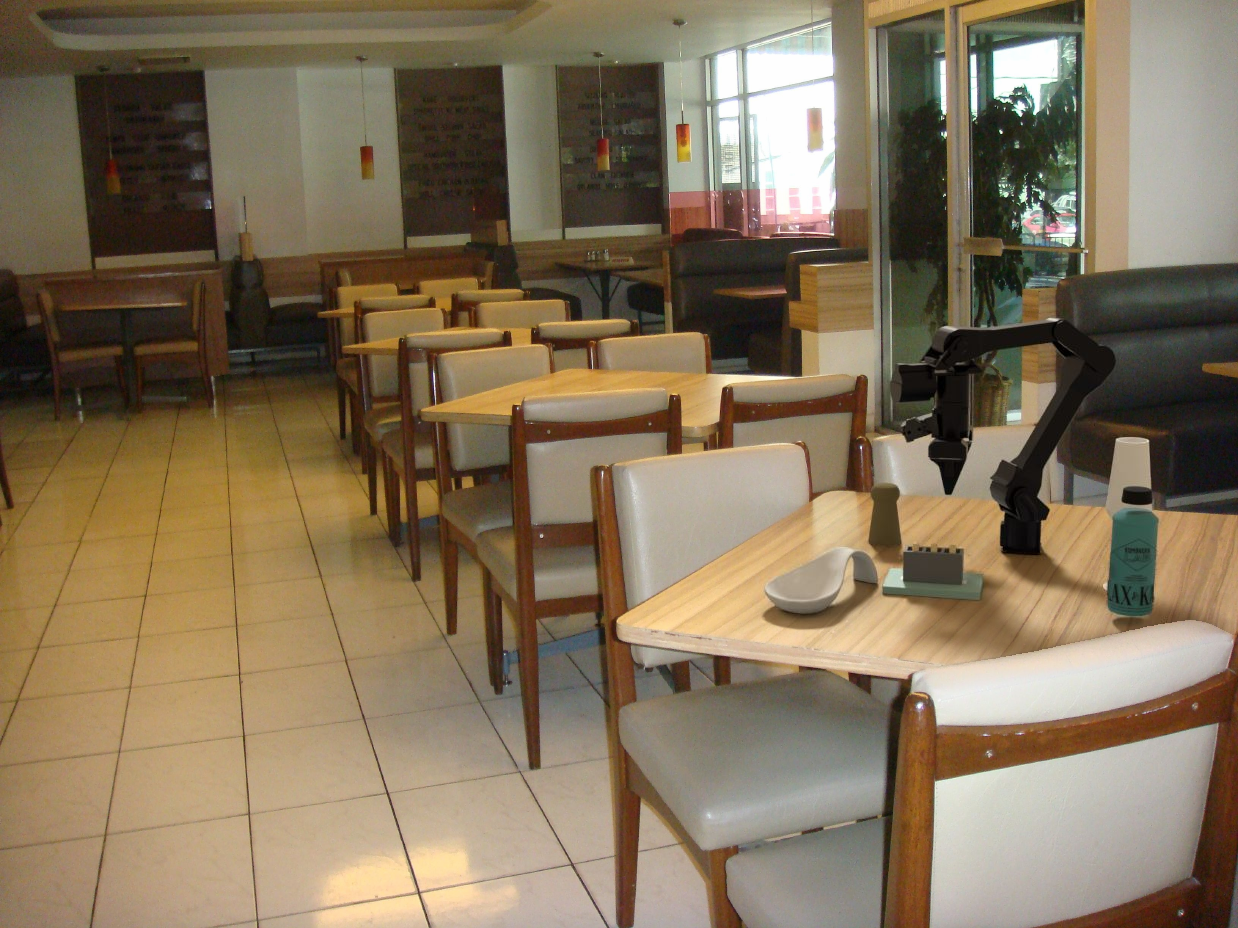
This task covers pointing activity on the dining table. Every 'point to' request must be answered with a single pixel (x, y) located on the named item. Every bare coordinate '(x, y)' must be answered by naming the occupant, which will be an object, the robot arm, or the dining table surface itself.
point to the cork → (885, 515)
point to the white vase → (1128, 473)
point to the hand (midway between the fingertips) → (950, 488)
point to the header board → (965, 591)
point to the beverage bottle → (1133, 555)
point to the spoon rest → (818, 581)
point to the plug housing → (933, 565)
